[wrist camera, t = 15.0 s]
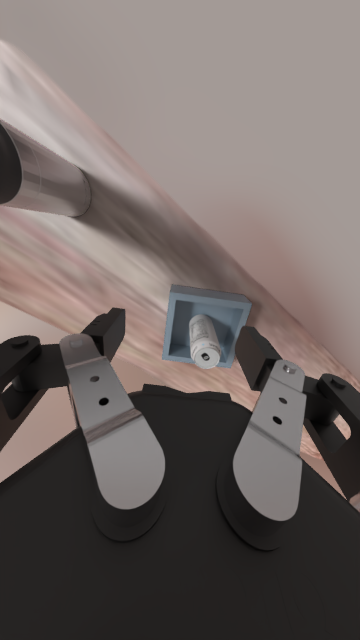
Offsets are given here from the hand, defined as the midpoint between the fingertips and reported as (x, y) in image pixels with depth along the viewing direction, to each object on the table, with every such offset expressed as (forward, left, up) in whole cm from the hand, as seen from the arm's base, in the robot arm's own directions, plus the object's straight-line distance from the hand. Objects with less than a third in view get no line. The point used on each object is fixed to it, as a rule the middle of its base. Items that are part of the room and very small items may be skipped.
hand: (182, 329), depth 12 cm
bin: (+7, -15, -33) cm, 36 cm away
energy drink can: (+7, -15, -32) cm, 36 cm away
